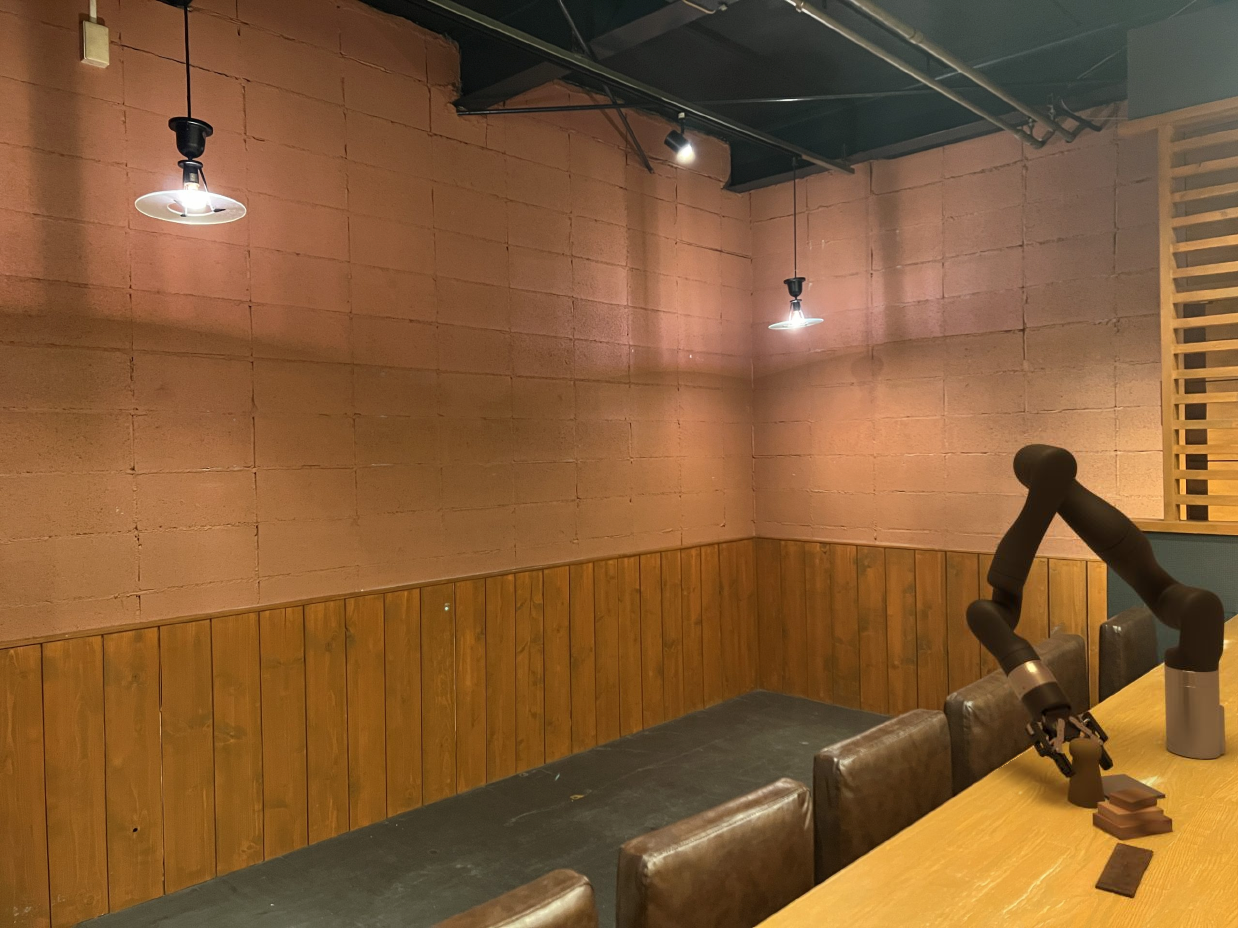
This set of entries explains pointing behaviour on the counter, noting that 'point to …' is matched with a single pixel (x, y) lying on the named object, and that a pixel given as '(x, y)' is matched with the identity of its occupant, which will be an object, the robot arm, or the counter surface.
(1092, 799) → the cork
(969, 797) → the counter surface
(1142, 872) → the wooden plank
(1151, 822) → the offcut stack
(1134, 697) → the counter surface
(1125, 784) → the slate coaster
